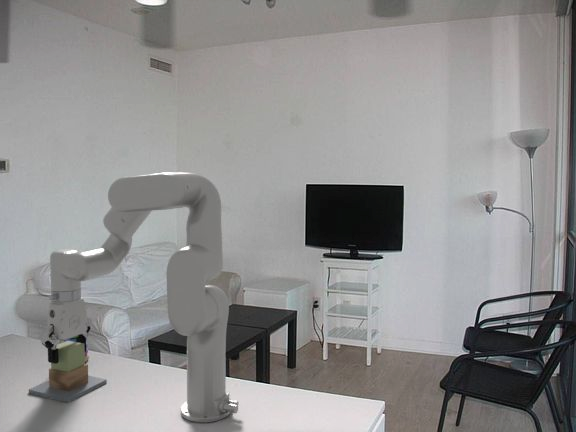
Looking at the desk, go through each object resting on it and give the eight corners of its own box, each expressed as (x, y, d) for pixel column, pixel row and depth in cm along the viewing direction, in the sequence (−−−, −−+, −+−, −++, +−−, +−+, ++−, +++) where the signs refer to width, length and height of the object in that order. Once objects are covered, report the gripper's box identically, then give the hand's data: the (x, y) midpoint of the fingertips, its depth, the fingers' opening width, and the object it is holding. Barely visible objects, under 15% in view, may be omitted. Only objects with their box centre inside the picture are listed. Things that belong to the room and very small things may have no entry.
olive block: (84, 364, 144) (84, 343, 143) (68, 372, 138) (67, 350, 138) (68, 361, 146) (67, 340, 146) (51, 368, 141) (50, 347, 140)
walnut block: (88, 381, 144) (87, 364, 144) (68, 391, 138) (67, 373, 138) (69, 377, 147) (69, 360, 147) (49, 386, 141) (48, 368, 141)
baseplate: (106, 382, 146) (106, 379, 146) (67, 402, 134) (67, 399, 133) (69, 374, 152) (69, 371, 152) (28, 393, 139) (28, 389, 139)
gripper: (50, 304, 131) (52, 369, 133) (100, 290, 147) (101, 349, 148) (29, 300, 134) (31, 365, 136) (80, 287, 150) (81, 345, 151)
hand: (67, 356), depth 142 cm, fingers open, 9 cm apart
